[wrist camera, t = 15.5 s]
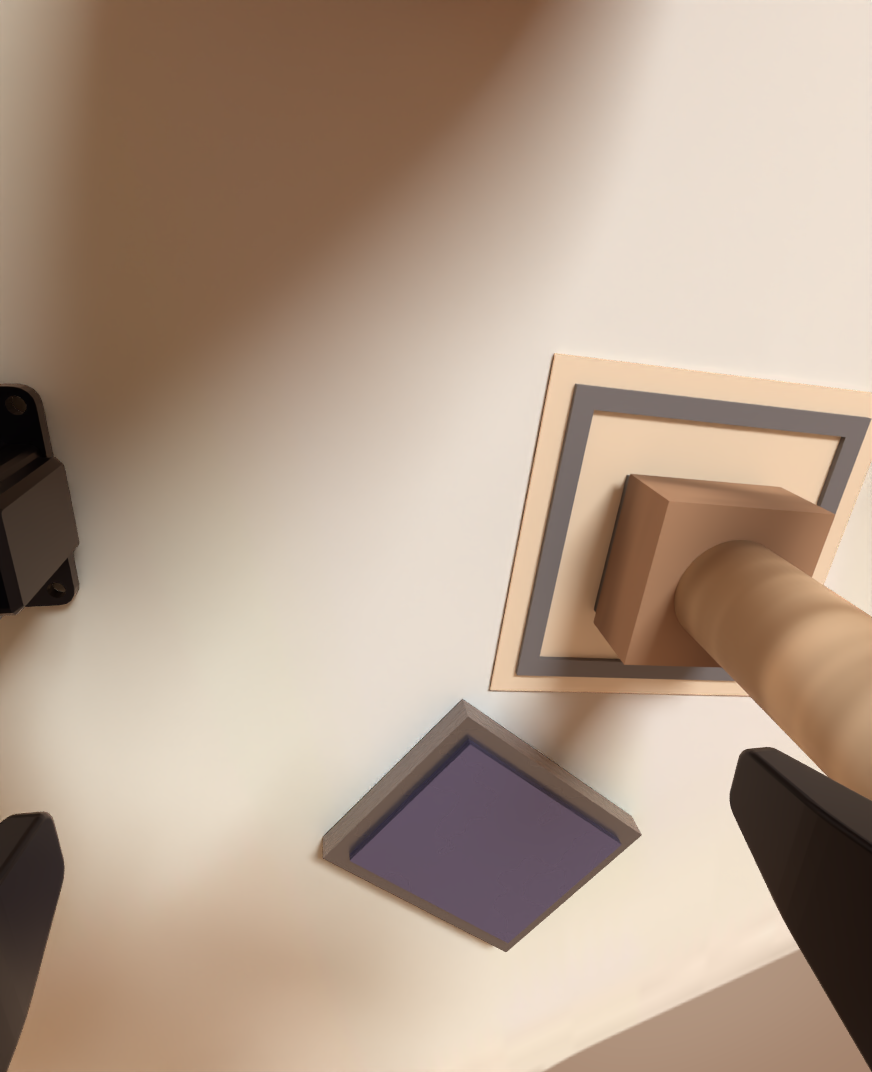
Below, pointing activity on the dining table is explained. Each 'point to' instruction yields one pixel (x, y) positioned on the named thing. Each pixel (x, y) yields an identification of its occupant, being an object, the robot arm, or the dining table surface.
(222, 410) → the dining table surface
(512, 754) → the ink pad
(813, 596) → the stamp
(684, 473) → the marked card
